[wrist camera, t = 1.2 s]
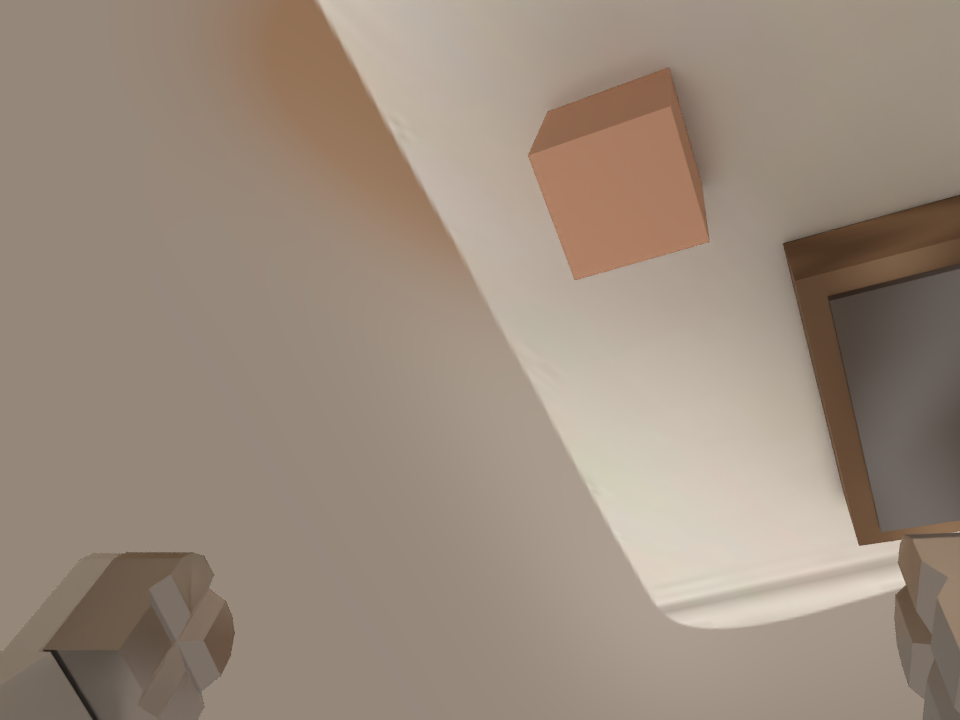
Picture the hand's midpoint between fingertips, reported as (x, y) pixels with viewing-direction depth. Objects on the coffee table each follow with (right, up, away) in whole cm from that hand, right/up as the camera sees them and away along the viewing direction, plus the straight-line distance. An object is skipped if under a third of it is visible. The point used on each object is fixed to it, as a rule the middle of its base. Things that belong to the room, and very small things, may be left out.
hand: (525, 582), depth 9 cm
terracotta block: (+5, +11, +24) cm, 27 cm away
